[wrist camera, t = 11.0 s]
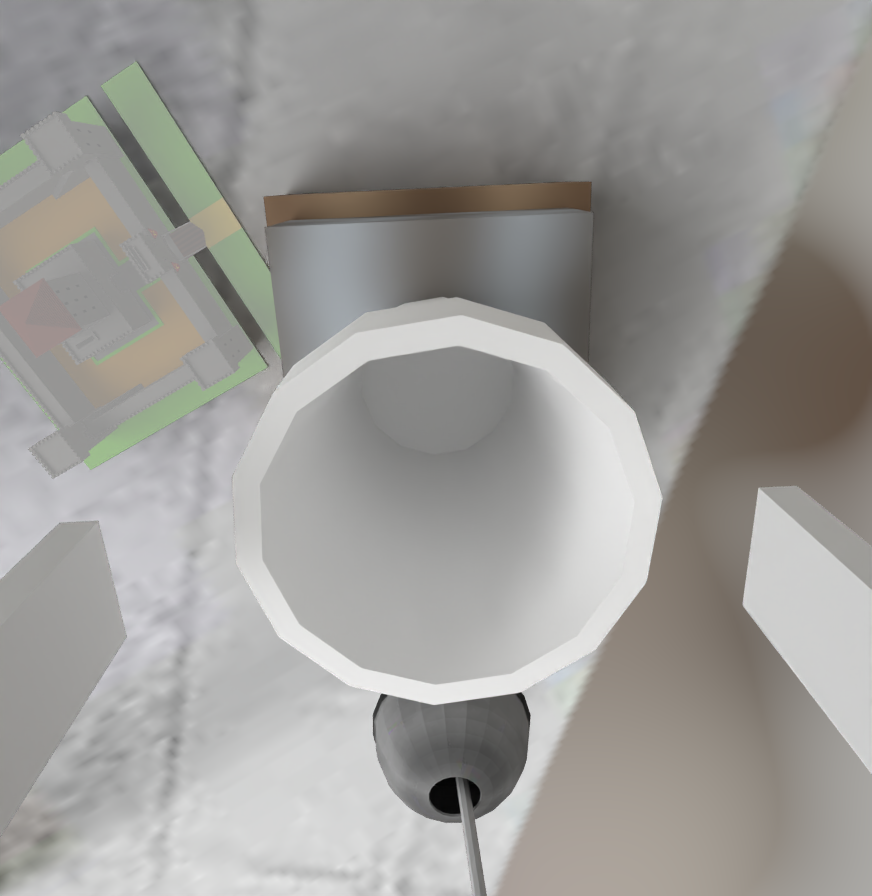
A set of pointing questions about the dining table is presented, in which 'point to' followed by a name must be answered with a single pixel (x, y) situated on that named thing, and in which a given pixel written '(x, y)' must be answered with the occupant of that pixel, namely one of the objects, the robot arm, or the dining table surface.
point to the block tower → (430, 256)
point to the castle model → (119, 279)
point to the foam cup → (445, 504)
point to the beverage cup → (453, 759)
